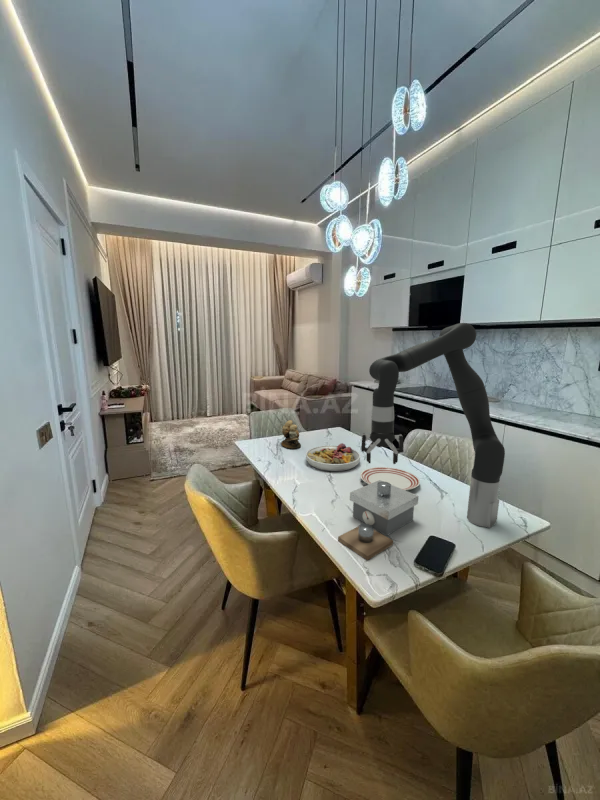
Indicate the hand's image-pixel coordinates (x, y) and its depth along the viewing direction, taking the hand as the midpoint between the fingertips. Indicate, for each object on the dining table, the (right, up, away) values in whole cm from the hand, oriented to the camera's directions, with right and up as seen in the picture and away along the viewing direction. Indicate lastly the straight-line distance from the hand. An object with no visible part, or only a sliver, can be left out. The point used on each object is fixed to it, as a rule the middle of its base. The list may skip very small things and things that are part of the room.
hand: (381, 462), depth 116 cm
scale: (+3, -23, +11) cm, 26 cm away
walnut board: (-7, -26, -4) cm, 27 cm away
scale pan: (+3, -17, +9) cm, 19 cm away
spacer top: (-7, -25, -5) cm, 26 cm away
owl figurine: (-34, -7, +95) cm, 102 cm away
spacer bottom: (+3, -14, +9) cm, 16 cm away
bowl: (-11, -13, +68) cm, 70 cm away
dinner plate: (+14, -18, +42) cm, 47 cm away
